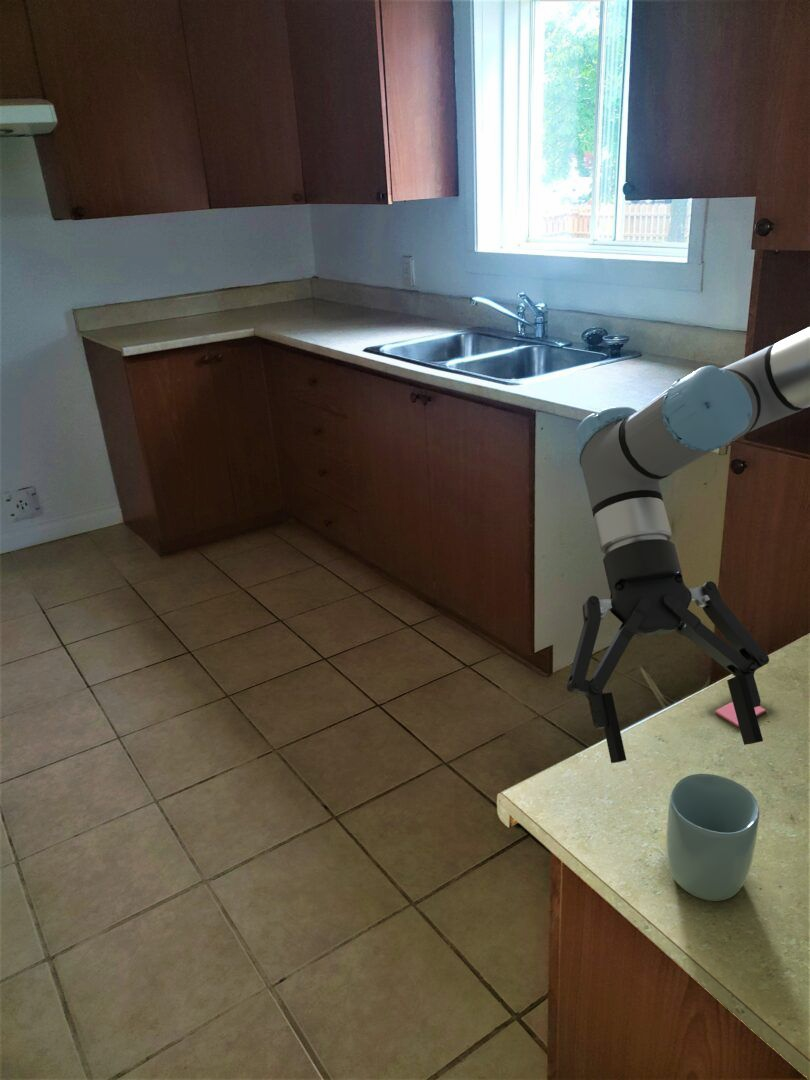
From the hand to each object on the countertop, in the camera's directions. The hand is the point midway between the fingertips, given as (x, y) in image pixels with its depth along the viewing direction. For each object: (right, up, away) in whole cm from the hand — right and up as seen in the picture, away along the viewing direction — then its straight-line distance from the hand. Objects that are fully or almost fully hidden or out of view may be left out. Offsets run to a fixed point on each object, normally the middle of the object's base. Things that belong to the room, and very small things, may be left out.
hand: (686, 752), depth 80 cm
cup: (+2, -12, -1) cm, 13 cm away
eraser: (+14, -1, +21) cm, 25 cm away
